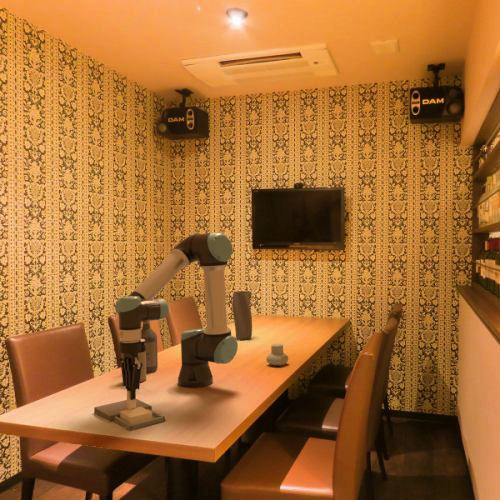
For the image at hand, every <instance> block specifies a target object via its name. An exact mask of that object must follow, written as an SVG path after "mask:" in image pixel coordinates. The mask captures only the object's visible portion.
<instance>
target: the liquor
mask: <svg viewBox="0 0 500 500" xmlns="http://www.w3.org/2000/svg"><path fill="white" fill-rule="evenodd" d="M150 322H151V321H145V322H142V326H141V339H144V340H145V342H144V345H145V347H146V374H148V373H149V374H151V373H155V372H156V371H157V369H158V368H159V366H158V364H159V363H158V335H157V333H156V332H155V331H154V330H153V328H151V323H150Z"/></svg>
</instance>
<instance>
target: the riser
mask: <svg viewBox="0 0 500 500" xmlns="http://www.w3.org/2000/svg"><path fill="white" fill-rule="evenodd" d="M137 407H143V408H145V409H150V410H152V411H153V409H152V408H153V407H152V405H151V404H148V403H146V402H144V401H142V400H140V399H137V398H136V408H137ZM93 410H94V411H93V412H94V414H96V415H97V416H99V417H101V418H102V419H104V420H105V421H107V422H109V423H112V422H115V421H114V417H115V416H117V417H118V418H120V412H121V411H125V410H129V409H127V399H124V400H120V401H117V402H110V403H107V404H103V405H98V406H95V407H93Z"/></svg>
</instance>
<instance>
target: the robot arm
mask: <svg viewBox="0 0 500 500" xmlns="http://www.w3.org/2000/svg"><path fill="white" fill-rule="evenodd" d="M233 250H234V249H233V244H232V241H231V239H230V238H229V237H228V236H227V235H226V234H225V233H222V232H221V233H220V232H211V233H193V234H192V235H189V236H187V237H185V238H184V239H183V240H181V241H180V242H179V243H177V245H175V246H174V247H173V248H172V249H171V250H170V252H169V256H167V258H165V260H163V261H162V262H161V264H159V266H157V268H155V269H154V270H153V271H152V273H150V274H149V275H148V276H147V277H146V278H145V279H144V280H143V281H142V282H141V283H140V284H139V285H138V286H137V287H136V288H135V289H134V290H133V291H132V292H131V293H130V294H129V295H126V296H122V297H120V298H118V299H117V301H116V302H115V305H114V308H115V309H114V310H115V312H116V314H117V315H118V329H119V330H118V331H119V332H118V336H119V343H118V345H119V346H118V347H119V349H118V350H119V353H120V354H122V357H120V358H119V363H120V370H121V377H122V386H123V387H125V390H126V400H127V409H133V408H136V399H137V393H136V392H137V390H139V389H140V383H141V382H140V376H141V368H142V363H139V361H138V360H139V358H138V353H139V352H141V350H142V349H141V341H140V340H141V330H142V323H143V322H145V321H150V322H151V321H152V322H153V321H159V320H161V319H165V318H166V317H167V316H168V315H169V310H170V309H169V308H170V307H169V304H168V301H166V300H165V299H164V298H155V297H156V296H157V295H158V294H159V293H160V292H161V291H162V290H163V289H164V288H165V287H166V286H167V285H168V284H169V283H170V282H171V281H172V280H173V279H174V278H175V277H176V276H177V274H179V272H180V271H181V270H182V269H185V268H188V267H189V266H190V265H191V264H192V263H193V264H194V262H198V264H199V268H201V269H202V271H203V284H204V285H203V286H204V302H205V303H204V305H205V321H206V325H205V326H206V327H205V328H196V329H195V328H194V329H189V330H185V331H183V332H182V333H181V335H180V336H181V337H180V348H181V349H180V351H181V353H180V354H181V367H180V369H179V370H180V371H179V373H178V377H177V385H179V386H180V387H181V386H182V387H185V388H186V387H187V388H199V387H207V386H209V385H212V384H213V382H214V379H213V378H214V376H213V374H212V370H211V368H210V365H209V363H214V364H217V365H220V364H221V365H227V364H229V363H231V362H232V361H233V360H234V358H235V357H236V355H237V352H238V346H239V345H238V344H239V343H238V339H237V338H236V337H234V336H233V335H232V328H230V327H229V326H228V319H227V318H228V317H227V300H226V299H227V298H226V296H227V295H226V280H225V279H226V277H225V269H226V268H227V267H228V262H229V261H230V259H231V258H232V255H233V253H234V252H233Z"/></svg>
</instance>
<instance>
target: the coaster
mask: <svg viewBox="0 0 500 500" xmlns="http://www.w3.org/2000/svg"><path fill="white" fill-rule="evenodd" d="M120 419H122V420H124V421H125V422H127V423H129V424H131V425H133V424H136V423H140V422H144V421H148V420H151V419H152V412H151V411H149V410H147V409H145V408H143V407H137V408H133V409H129V410H125V411H121V412H120Z"/></svg>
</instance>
